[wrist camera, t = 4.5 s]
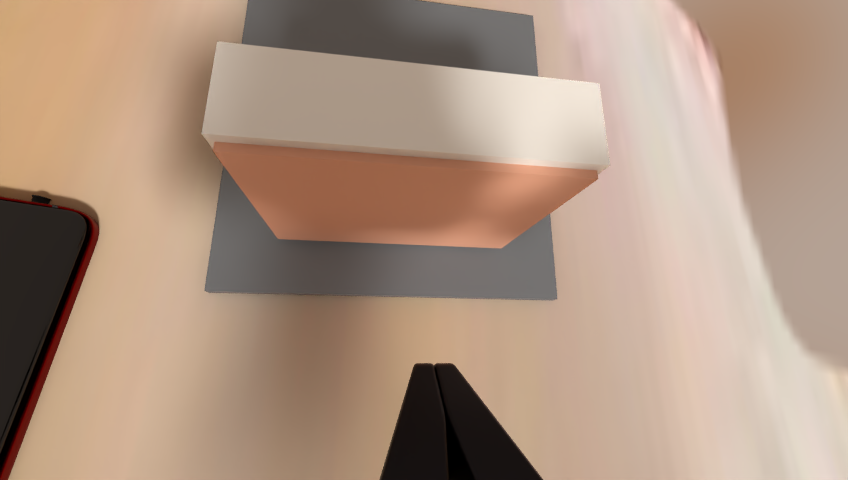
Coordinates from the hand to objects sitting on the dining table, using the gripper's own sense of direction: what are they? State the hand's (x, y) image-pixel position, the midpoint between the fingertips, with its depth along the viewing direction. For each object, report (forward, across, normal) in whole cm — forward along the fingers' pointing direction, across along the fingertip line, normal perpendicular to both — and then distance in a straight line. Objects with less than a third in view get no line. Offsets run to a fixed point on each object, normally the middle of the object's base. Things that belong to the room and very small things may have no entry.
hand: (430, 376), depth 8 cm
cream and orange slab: (+14, 0, +3) cm, 14 cm away
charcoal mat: (+18, 0, 0) cm, 18 cm away
